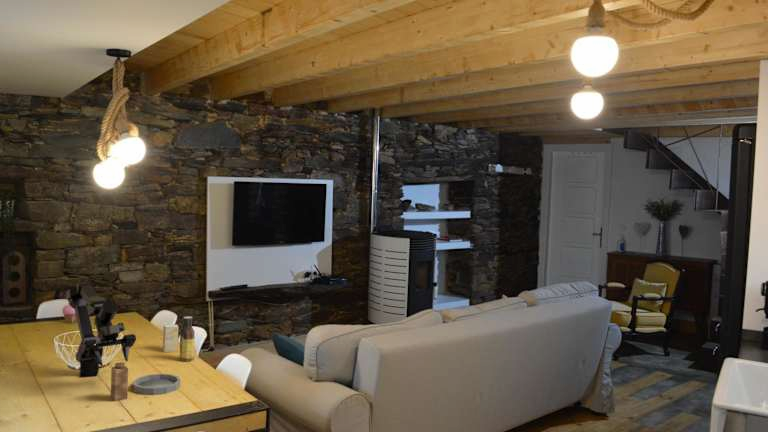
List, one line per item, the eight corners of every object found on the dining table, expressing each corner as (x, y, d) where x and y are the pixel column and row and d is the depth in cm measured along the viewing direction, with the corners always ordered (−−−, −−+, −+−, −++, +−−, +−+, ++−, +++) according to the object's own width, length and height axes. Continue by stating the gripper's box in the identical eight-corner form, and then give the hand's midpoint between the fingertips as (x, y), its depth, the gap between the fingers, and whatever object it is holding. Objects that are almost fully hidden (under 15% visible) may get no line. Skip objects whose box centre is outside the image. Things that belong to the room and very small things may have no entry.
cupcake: (74, 324, 322) (74, 306, 321) (58, 323, 322) (59, 305, 321) (83, 320, 331) (83, 303, 330) (67, 320, 331) (68, 302, 330)
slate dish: (135, 396, 222) (135, 390, 222) (131, 382, 238) (132, 376, 237) (182, 391, 230) (182, 385, 230) (176, 377, 245) (176, 372, 245)
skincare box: (164, 352, 279) (164, 327, 278) (162, 350, 283) (163, 325, 282) (178, 351, 282) (178, 326, 281) (176, 348, 286) (176, 324, 285)
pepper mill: (115, 401, 217) (115, 366, 217) (110, 397, 220) (111, 363, 220) (127, 398, 220) (128, 364, 220) (122, 395, 223) (123, 361, 223)
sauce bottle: (181, 357, 273) (182, 315, 271) (195, 358, 273) (196, 315, 272) (177, 362, 266) (178, 318, 265) (192, 362, 267) (193, 318, 265)
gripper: (84, 319, 220) (93, 355, 213) (135, 313, 233) (145, 347, 226) (77, 335, 226) (86, 371, 219) (127, 329, 239) (137, 362, 232)
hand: (114, 362), depth 224 cm, fingers open, 9 cm apart
